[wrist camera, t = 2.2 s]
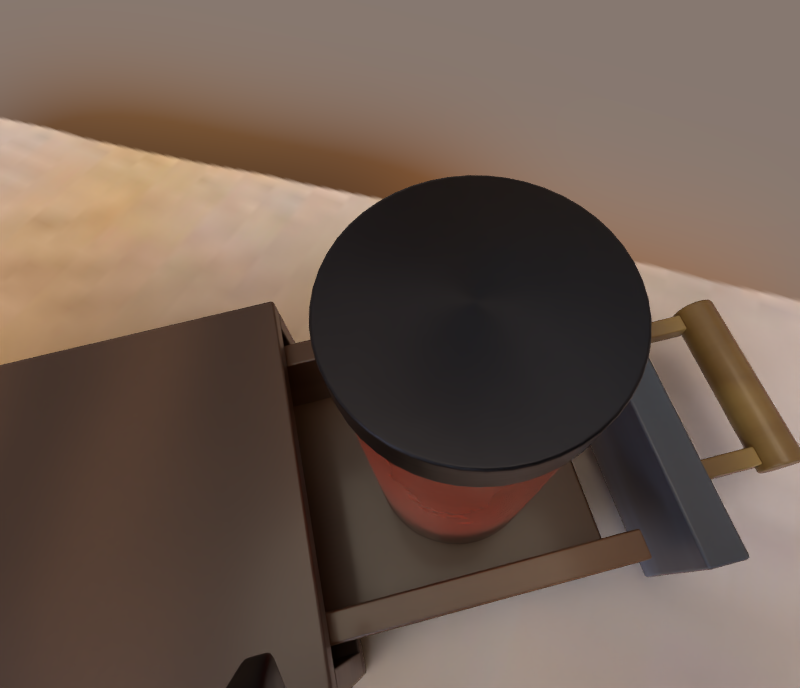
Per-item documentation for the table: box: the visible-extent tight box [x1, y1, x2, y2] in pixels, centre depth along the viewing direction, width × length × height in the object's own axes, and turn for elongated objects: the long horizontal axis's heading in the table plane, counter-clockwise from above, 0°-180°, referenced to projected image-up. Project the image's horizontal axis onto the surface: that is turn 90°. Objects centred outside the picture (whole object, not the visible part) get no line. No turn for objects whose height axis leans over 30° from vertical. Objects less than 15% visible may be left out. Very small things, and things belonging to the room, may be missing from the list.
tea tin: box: [309, 175, 651, 544], centre depth 14 cm, size 6×6×12 cm
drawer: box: [284, 300, 800, 646], centre depth 18 cm, size 20×10×5 cm, turn 104°
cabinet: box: [0, 302, 366, 688], centre depth 17 cm, size 16×11×6 cm
